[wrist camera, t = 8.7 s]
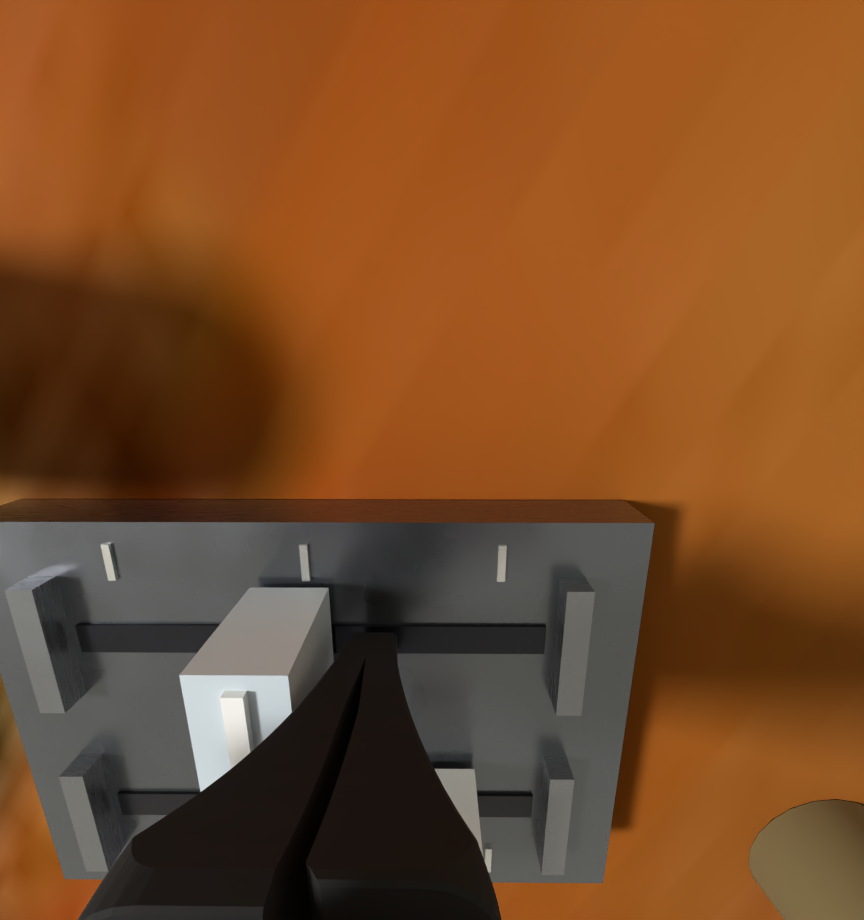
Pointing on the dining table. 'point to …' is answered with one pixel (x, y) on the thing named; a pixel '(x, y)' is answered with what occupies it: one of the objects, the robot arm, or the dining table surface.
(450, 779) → the fader cream
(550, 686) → the console
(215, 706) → the fader bluegrey
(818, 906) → the tan bulb-headed cylinder
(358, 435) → the dining table surface
